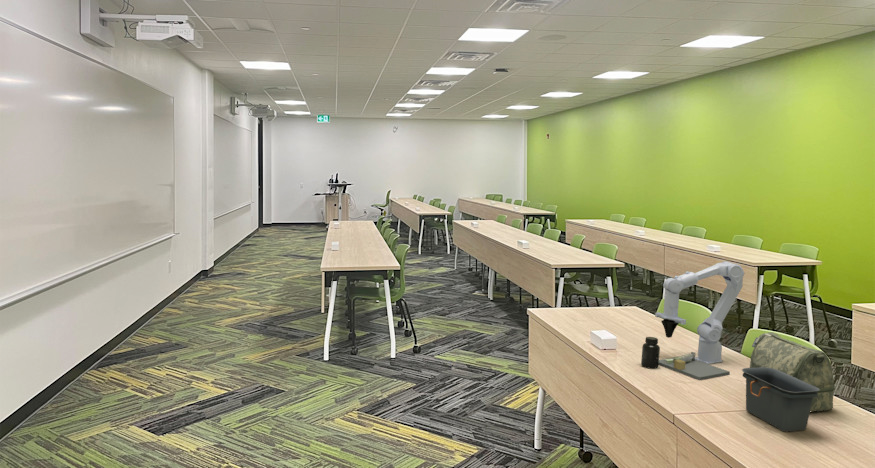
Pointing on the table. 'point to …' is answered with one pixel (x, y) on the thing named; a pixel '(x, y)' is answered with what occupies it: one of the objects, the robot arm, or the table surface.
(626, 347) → the table surface
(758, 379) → the storage bin
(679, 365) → the yellow wooden cube
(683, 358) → the bar
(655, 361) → the supplement bottle
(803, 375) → the lunch bag
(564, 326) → the table surface
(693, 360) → the base
